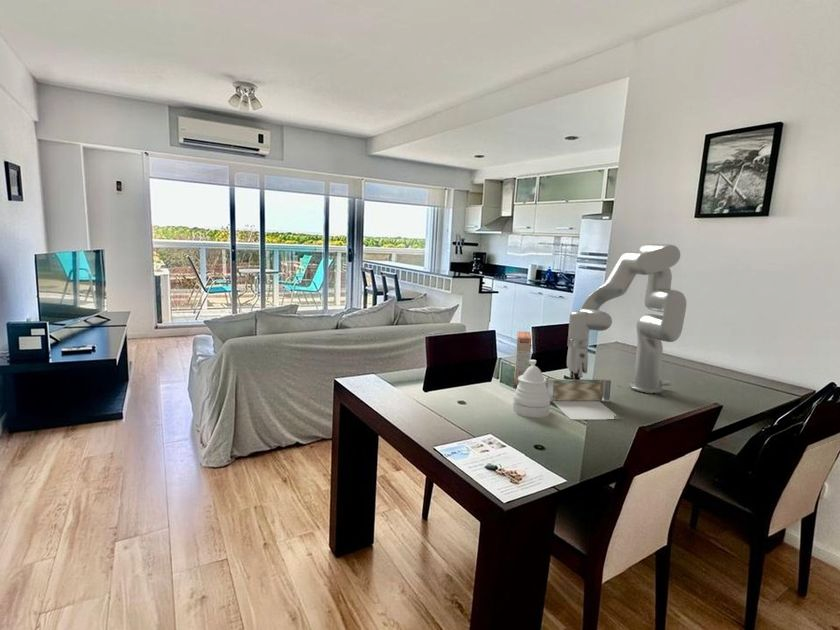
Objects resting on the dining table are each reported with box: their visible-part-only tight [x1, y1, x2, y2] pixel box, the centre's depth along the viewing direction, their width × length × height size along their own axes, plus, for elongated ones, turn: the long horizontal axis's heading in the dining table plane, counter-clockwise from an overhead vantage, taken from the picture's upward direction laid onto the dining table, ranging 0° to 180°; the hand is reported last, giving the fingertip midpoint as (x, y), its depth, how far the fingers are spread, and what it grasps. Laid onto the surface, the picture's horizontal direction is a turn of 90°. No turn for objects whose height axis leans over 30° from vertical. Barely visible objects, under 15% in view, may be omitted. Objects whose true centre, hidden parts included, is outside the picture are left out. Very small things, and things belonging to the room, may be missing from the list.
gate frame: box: [546, 377, 612, 403], centre depth 174 cm, size 25×3×8 cm, turn 93°
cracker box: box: [514, 331, 532, 386], centre depth 196 cm, size 14×6×21 cm, turn 168°
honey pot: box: [512, 359, 551, 418], centre depth 162 cm, size 13×13×18 cm
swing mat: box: [552, 402, 617, 421], centre depth 164 cm, size 18×17×1 cm
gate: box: [552, 378, 604, 399], centre depth 174 cm, size 19×2×7 cm, turn 93°
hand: (574, 388), depth 180 cm, fingers closed
